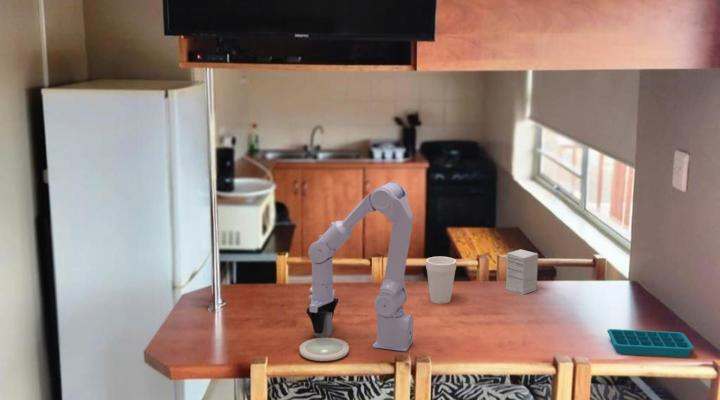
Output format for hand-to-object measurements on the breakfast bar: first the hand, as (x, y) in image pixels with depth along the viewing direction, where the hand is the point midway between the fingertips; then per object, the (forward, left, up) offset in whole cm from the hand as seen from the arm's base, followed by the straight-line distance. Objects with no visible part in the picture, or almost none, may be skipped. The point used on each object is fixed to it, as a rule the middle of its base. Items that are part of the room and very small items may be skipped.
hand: (323, 328), depth 216 cm
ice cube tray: (-86, -18, -2) cm, 88 cm away
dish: (-5, +12, -2) cm, 13 cm away
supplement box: (-48, -56, -2) cm, 74 cm away
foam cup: (-25, -38, -2) cm, 46 cm away
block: (0, 0, -2) cm, 2 cm away
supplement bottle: (+8, -17, -2) cm, 19 cm away
